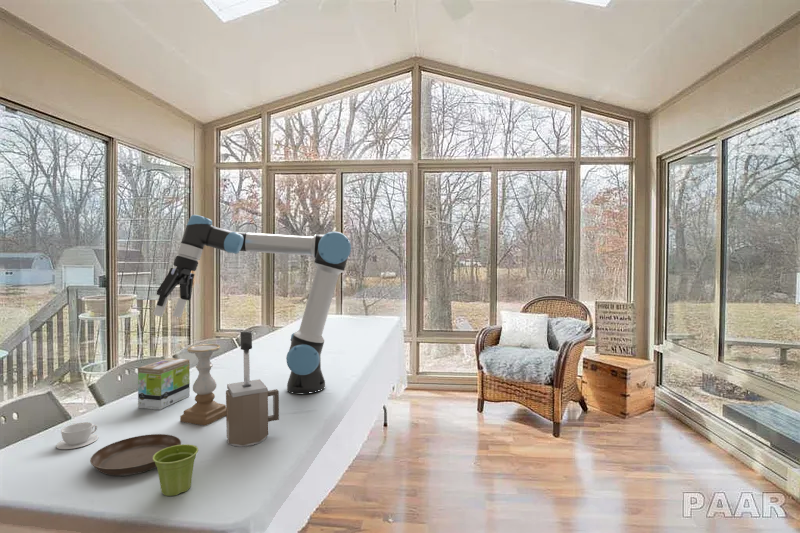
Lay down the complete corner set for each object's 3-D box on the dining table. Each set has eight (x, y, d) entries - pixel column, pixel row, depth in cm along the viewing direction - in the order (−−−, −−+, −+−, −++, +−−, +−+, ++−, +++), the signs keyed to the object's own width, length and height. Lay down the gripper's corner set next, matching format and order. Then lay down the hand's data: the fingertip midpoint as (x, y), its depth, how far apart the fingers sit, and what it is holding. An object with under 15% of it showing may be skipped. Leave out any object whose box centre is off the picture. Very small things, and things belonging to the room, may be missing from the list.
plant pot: (164, 479, 105) (164, 444, 105) (204, 477, 106) (204, 443, 106) (145, 501, 96) (144, 463, 95) (189, 499, 97) (188, 461, 96)
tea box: (161, 410, 151) (160, 368, 150) (137, 408, 153) (136, 367, 152) (190, 396, 166) (190, 358, 165) (168, 394, 168) (167, 357, 167)
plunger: (258, 398, 134) (257, 328, 133) (265, 406, 126) (264, 332, 126) (229, 403, 129) (228, 330, 129) (234, 412, 122) (233, 335, 121)
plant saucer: (147, 439, 128) (146, 428, 128) (198, 451, 120) (198, 439, 120) (71, 472, 109) (71, 459, 109) (126, 489, 101) (126, 475, 101)
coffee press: (273, 425, 138) (273, 376, 137) (283, 438, 128) (282, 386, 127) (224, 435, 130) (223, 383, 130) (231, 450, 121) (230, 394, 120)
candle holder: (229, 413, 148) (228, 344, 147) (205, 425, 137) (204, 352, 136) (204, 409, 151) (203, 342, 150) (179, 421, 141) (177, 349, 140)
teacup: (64, 454, 119) (64, 437, 119) (49, 445, 124) (49, 429, 124) (104, 440, 127) (104, 424, 127) (89, 433, 133) (88, 418, 132)
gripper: (192, 260, 164) (174, 314, 161) (159, 248, 139) (136, 312, 136) (211, 265, 164) (193, 319, 161) (182, 254, 139) (159, 318, 136)
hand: (167, 316), depth 149 cm, fingers open, 13 cm apart
